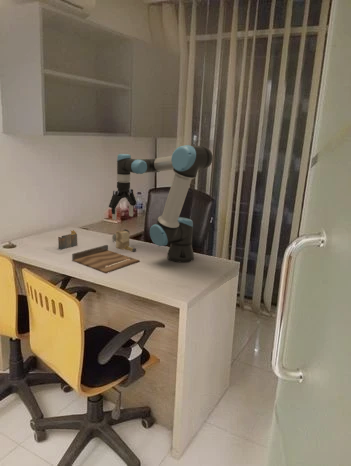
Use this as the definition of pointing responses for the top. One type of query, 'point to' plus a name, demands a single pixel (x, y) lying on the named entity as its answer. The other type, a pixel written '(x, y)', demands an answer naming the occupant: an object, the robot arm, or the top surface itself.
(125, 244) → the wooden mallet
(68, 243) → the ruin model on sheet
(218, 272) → the top surface
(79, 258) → the board
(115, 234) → the flashlight
